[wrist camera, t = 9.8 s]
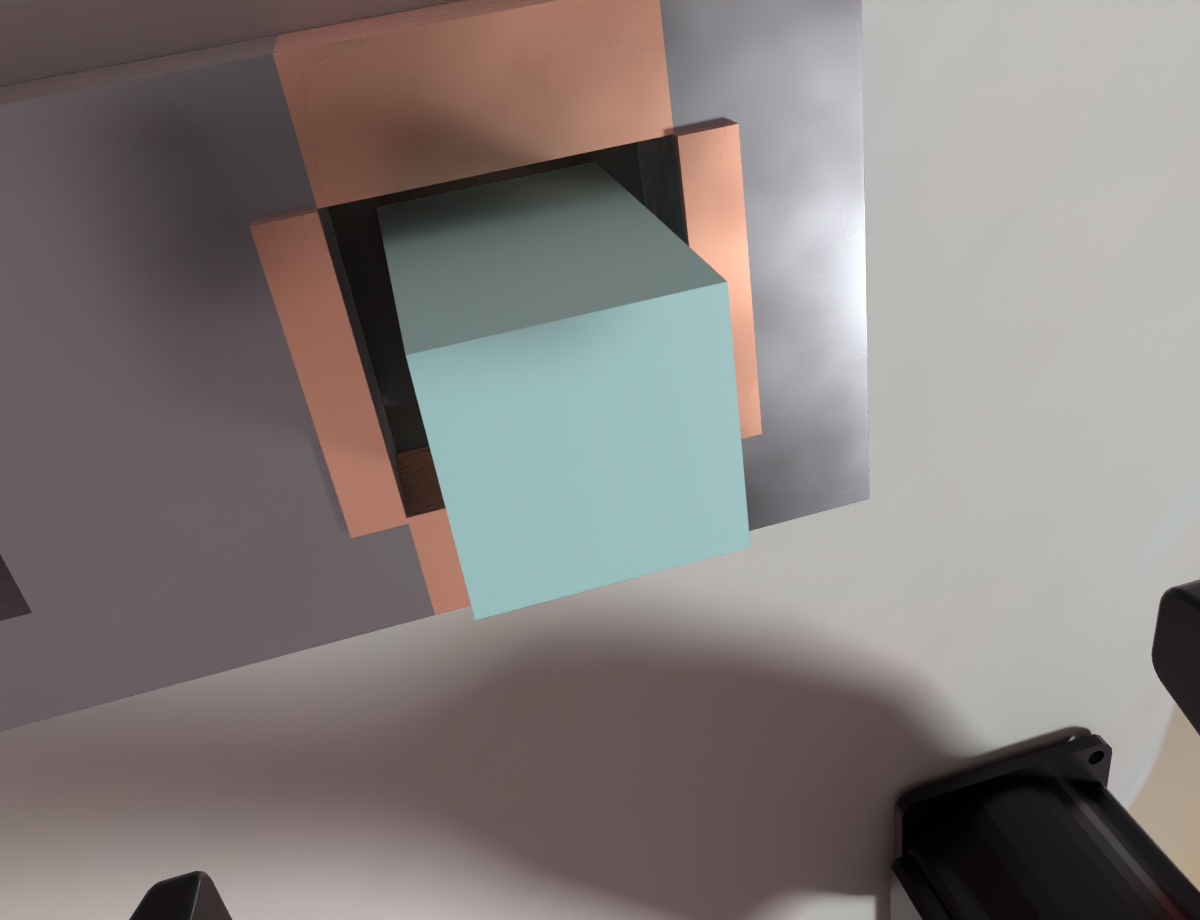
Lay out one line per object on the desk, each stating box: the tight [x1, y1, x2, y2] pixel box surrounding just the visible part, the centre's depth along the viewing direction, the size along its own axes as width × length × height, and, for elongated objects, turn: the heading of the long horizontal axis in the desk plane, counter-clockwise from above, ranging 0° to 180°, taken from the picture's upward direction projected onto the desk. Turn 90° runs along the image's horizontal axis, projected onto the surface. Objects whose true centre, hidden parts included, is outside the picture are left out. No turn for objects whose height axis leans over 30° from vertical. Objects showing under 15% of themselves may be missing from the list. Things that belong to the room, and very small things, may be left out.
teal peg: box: [376, 162, 750, 620], centre depth 16 cm, size 4×4×7 cm
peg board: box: [0, 0, 869, 731], centre depth 17 cm, size 24×10×3 cm, turn 99°
